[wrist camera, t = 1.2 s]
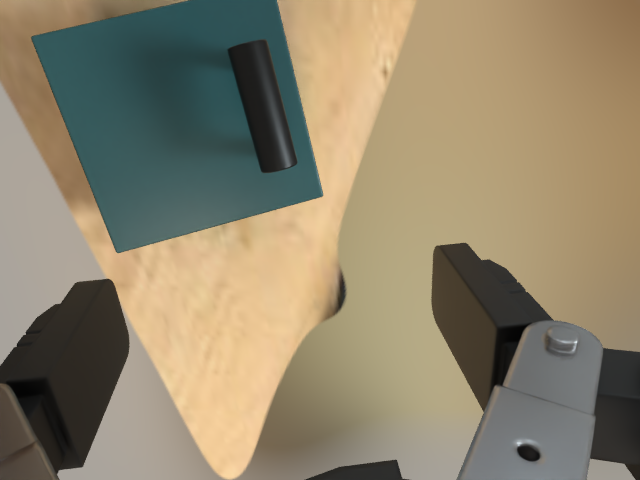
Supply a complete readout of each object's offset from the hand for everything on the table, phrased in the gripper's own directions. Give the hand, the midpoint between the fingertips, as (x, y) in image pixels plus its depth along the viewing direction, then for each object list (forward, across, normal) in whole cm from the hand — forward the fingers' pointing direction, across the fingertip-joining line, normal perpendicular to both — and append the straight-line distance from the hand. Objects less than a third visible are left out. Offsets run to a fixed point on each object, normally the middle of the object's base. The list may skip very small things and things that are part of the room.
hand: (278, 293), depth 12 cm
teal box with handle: (+13, +4, -2) cm, 14 cm away
